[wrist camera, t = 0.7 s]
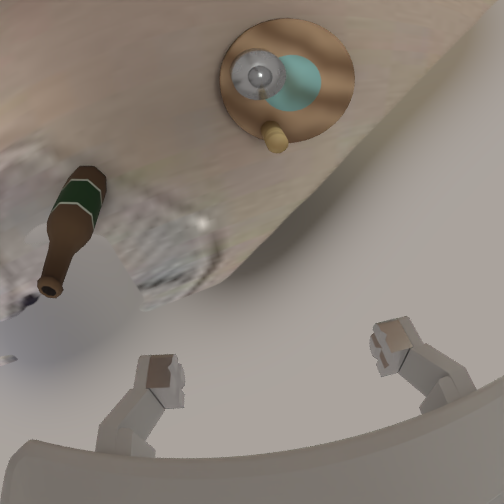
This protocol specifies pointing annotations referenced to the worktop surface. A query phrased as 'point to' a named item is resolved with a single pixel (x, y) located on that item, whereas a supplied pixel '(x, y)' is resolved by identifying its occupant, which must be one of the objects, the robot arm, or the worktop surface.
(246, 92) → the cover
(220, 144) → the worktop surface
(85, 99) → the worktop surface
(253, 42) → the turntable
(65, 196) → the beer bottle
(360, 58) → the worktop surface
